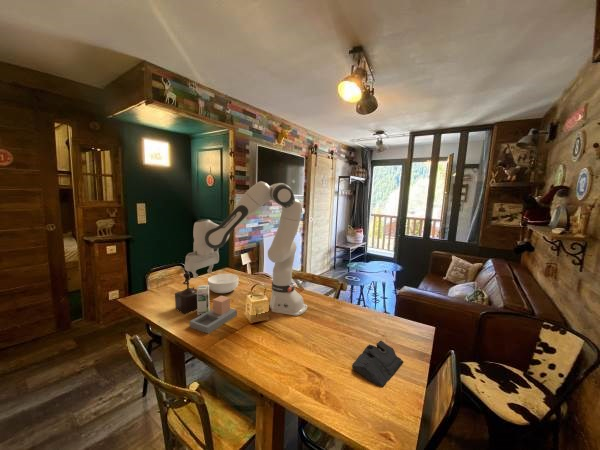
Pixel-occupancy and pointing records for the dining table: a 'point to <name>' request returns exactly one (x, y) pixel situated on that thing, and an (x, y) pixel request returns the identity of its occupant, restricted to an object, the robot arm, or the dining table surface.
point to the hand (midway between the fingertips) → (202, 275)
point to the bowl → (223, 283)
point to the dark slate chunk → (378, 363)
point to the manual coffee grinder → (186, 297)
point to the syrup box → (202, 299)
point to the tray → (214, 315)
